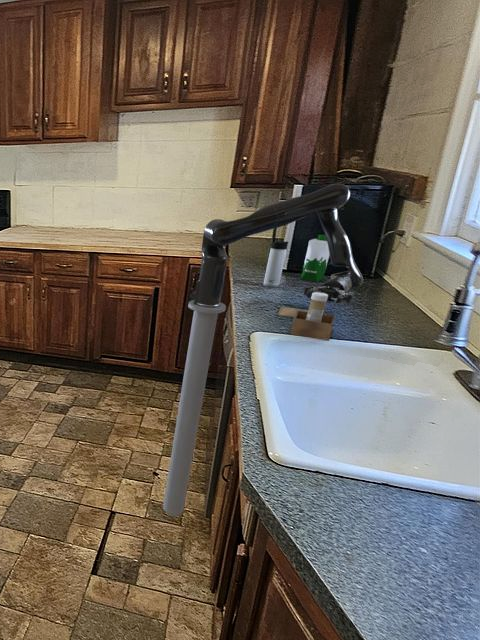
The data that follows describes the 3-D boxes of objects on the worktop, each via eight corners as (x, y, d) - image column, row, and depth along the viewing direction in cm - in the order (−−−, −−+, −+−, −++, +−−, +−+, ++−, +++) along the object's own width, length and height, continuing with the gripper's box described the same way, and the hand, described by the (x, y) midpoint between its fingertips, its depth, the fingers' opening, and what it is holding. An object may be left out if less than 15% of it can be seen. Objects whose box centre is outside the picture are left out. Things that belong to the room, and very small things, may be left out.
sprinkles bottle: (303, 329, 179) (313, 291, 174) (319, 332, 177) (329, 293, 172) (301, 333, 176) (311, 294, 171) (317, 336, 173) (327, 296, 168)
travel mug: (272, 288, 230) (282, 242, 222) (259, 285, 235) (269, 239, 228) (282, 287, 232) (292, 241, 224) (269, 283, 238) (279, 238, 230)
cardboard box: (289, 334, 175) (293, 318, 173) (293, 325, 183) (297, 310, 181) (328, 340, 169) (333, 324, 167) (330, 331, 178) (334, 315, 176)
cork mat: (277, 315, 194) (277, 314, 194) (281, 307, 203) (281, 306, 203) (314, 321, 188) (314, 319, 188) (316, 312, 197) (317, 311, 197)
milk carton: (325, 279, 246) (336, 236, 238) (318, 282, 240) (329, 238, 233) (305, 276, 252) (315, 233, 244) (298, 279, 246) (308, 235, 238)
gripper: (315, 275, 190) (302, 282, 179) (361, 281, 181) (350, 290, 170) (310, 295, 193) (297, 304, 182) (355, 302, 184) (344, 312, 173)
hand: (323, 297), depth 176 cm, fingers open, 8 cm apart
